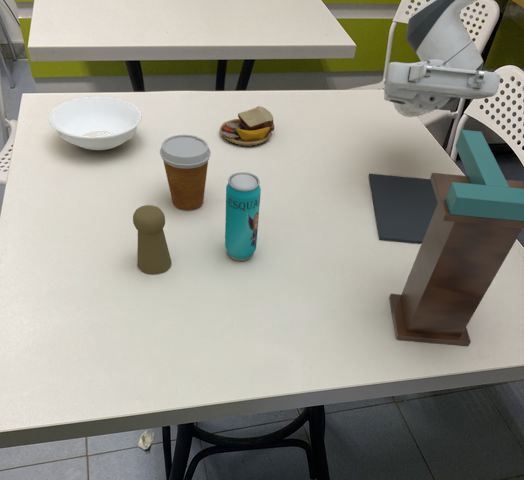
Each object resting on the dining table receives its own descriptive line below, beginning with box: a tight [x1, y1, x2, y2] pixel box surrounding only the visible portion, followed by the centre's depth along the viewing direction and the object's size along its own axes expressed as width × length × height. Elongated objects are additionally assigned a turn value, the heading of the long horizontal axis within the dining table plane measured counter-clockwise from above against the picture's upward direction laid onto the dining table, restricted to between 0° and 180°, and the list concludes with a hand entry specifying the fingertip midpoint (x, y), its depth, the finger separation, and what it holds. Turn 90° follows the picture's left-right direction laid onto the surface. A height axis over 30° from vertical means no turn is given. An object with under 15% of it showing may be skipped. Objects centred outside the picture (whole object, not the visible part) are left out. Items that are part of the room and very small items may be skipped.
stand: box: [388, 172, 524, 347], centre depth 75 cm, size 13×10×24 cm
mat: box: [368, 172, 438, 244], centre depth 105 cm, size 16×24×1 cm, turn 177°
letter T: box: [445, 129, 524, 221], centre depth 67 cm, size 12×18×2 cm, turn 177°
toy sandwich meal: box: [219, 105, 275, 147], centre depth 119 cm, size 12×14×5 cm
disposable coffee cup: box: [159, 134, 212, 211], centre depth 96 cm, size 10×10×12 cm
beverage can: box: [224, 171, 262, 262], centre depth 86 cm, size 6×6×15 cm
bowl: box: [48, 95, 143, 151], centre depth 111 cm, size 20×20×6 cm
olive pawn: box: [132, 204, 173, 275], centre depth 84 cm, size 6×6×11 cm
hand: (455, 73), depth 83 cm, fingers open, 8 cm apart
